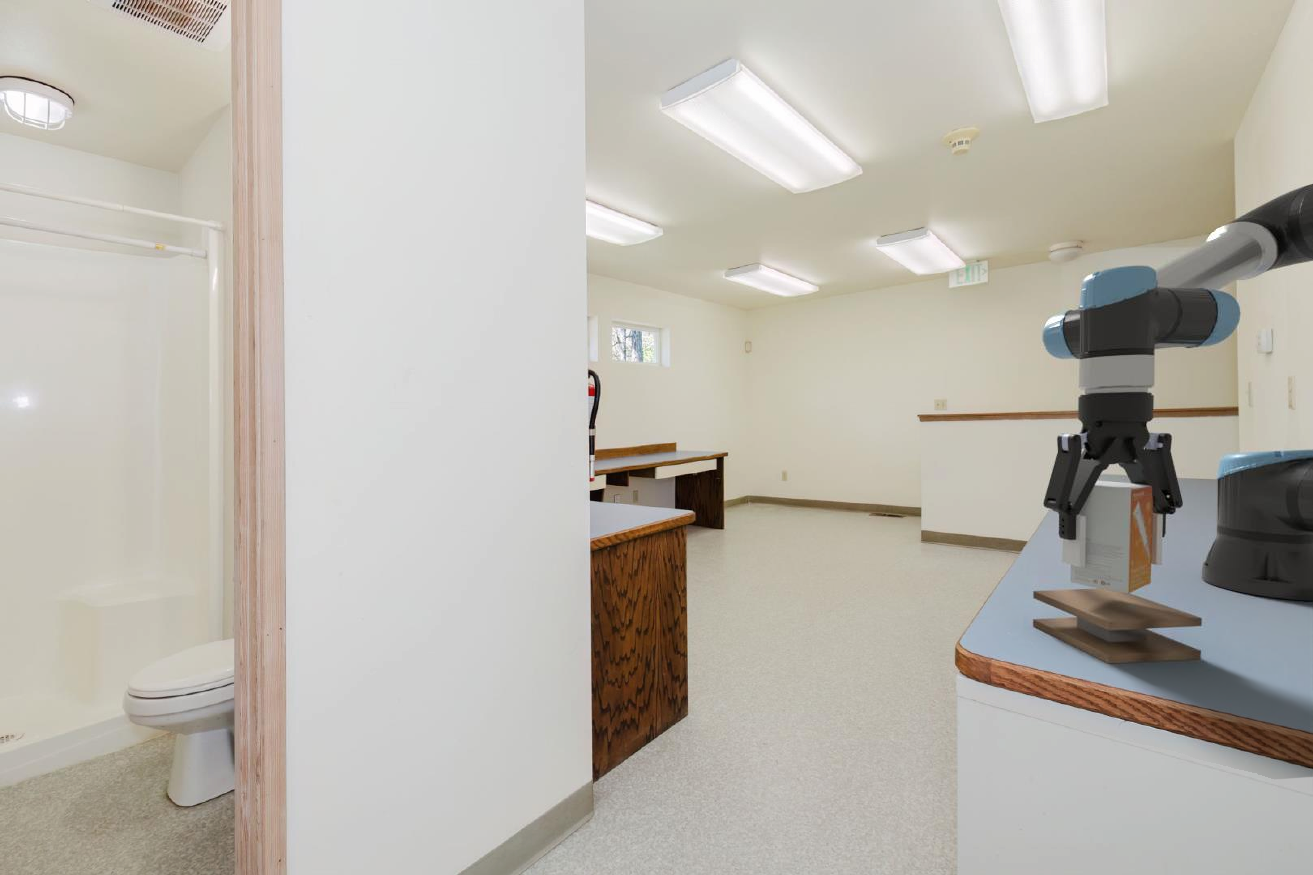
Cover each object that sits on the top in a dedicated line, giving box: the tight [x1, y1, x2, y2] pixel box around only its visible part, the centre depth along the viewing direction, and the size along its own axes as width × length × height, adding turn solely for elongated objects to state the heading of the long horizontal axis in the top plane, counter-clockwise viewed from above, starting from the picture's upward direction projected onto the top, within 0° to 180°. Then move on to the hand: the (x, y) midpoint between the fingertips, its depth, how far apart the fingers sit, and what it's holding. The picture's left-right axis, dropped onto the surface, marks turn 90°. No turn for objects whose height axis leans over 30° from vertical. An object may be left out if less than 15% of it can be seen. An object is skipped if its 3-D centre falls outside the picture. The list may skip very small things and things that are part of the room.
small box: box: [1070, 480, 1153, 594], centre depth 73 cm, size 8×6×13 cm
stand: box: [1032, 588, 1203, 664], centre depth 73 cm, size 12×12×5 cm
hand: (1111, 563), depth 73 cm, fingers closed on small box, 10 cm apart
